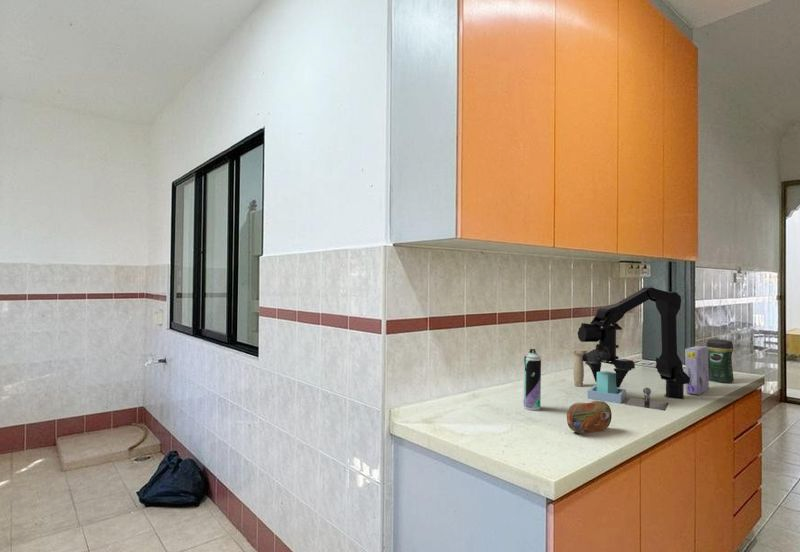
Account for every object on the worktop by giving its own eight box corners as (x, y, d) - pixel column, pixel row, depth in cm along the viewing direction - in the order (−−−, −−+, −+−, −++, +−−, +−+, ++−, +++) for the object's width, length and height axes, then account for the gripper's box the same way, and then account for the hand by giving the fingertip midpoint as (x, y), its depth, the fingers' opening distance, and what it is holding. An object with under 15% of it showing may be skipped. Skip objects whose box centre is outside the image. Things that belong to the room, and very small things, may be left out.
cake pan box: (696, 386, 191) (696, 344, 192) (710, 388, 188) (710, 345, 188) (684, 393, 178) (684, 348, 178) (699, 396, 174) (699, 350, 174)
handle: (581, 388, 184) (582, 351, 185) (568, 384, 190) (568, 348, 190) (589, 386, 187) (589, 350, 187) (575, 383, 192) (575, 348, 193)
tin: (572, 435, 126) (573, 405, 126) (564, 432, 129) (564, 402, 129) (612, 429, 132) (612, 400, 132) (603, 426, 135) (604, 398, 135)
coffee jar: (736, 382, 201) (736, 340, 201) (727, 384, 196) (728, 341, 197) (712, 378, 209) (712, 337, 209) (703, 379, 205) (703, 338, 205)
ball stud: (630, 399, 167) (630, 382, 167) (668, 404, 160) (668, 387, 161) (625, 406, 158) (625, 388, 158) (665, 412, 151) (665, 393, 151)
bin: (594, 394, 174) (594, 385, 174) (625, 398, 168) (626, 389, 168) (587, 400, 165) (587, 390, 165) (620, 405, 159) (620, 395, 159)
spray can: (531, 411, 149) (532, 350, 150) (520, 407, 154) (520, 348, 154) (543, 409, 152) (544, 349, 152) (532, 405, 157) (532, 347, 157)
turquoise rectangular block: (606, 395, 170) (606, 371, 170) (617, 398, 165) (617, 373, 165) (596, 396, 168) (596, 371, 168) (607, 399, 163) (607, 374, 163)
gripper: (571, 339, 172) (571, 381, 172) (613, 346, 155) (613, 392, 155) (593, 338, 177) (592, 378, 176) (635, 344, 160) (635, 389, 159)
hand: (607, 384), depth 167 cm, fingers open, 9 cm apart
